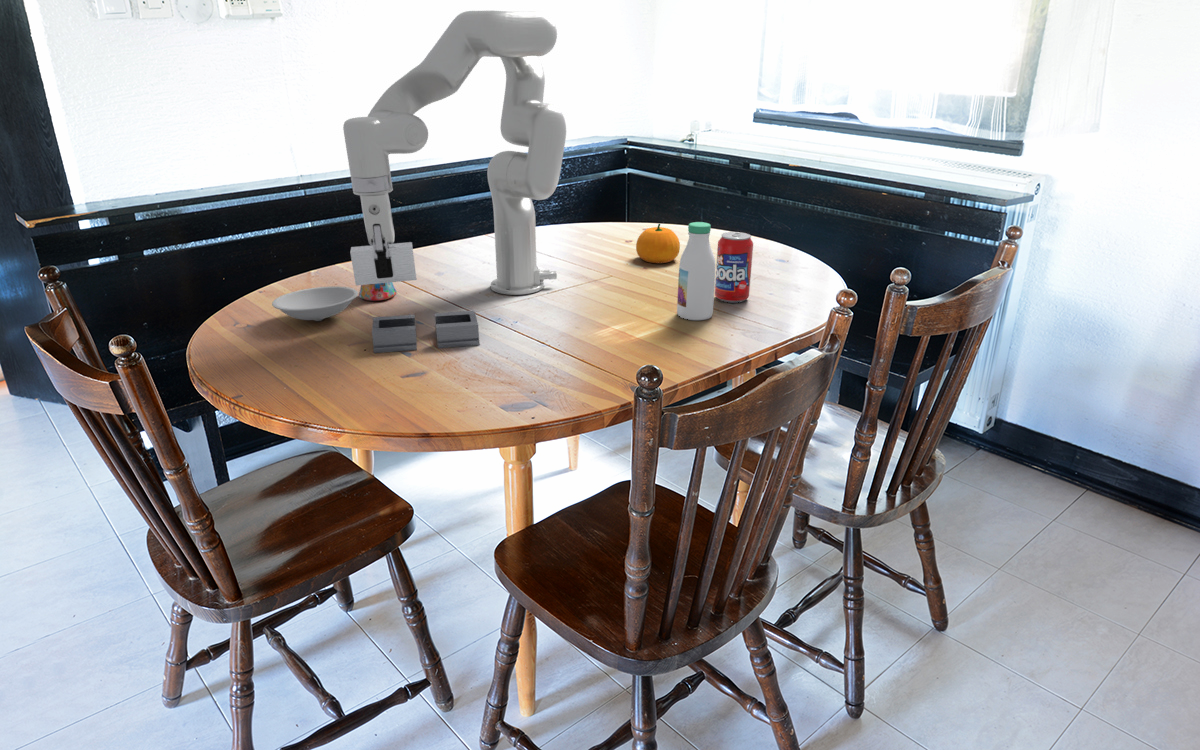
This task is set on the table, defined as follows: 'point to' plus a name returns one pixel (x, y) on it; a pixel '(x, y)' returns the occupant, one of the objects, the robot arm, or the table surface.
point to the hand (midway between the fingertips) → (385, 273)
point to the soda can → (733, 267)
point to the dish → (315, 302)
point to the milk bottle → (696, 275)
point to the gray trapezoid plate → (399, 259)
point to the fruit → (658, 245)
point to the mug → (377, 291)
